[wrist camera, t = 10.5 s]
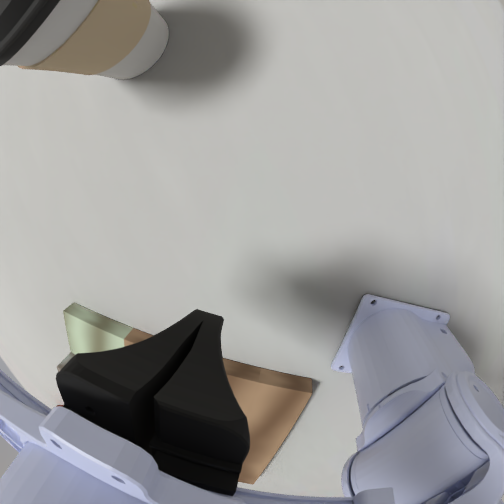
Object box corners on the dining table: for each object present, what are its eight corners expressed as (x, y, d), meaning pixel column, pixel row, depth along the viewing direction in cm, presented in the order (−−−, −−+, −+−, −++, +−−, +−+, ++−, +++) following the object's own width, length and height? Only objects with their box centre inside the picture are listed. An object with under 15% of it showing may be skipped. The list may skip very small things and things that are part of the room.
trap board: (311, 378, 24) (313, 418, 20) (254, 474, 32) (250, 499, 28) (73, 302, 26) (45, 324, 21) (99, 421, 34) (86, 441, 29)
